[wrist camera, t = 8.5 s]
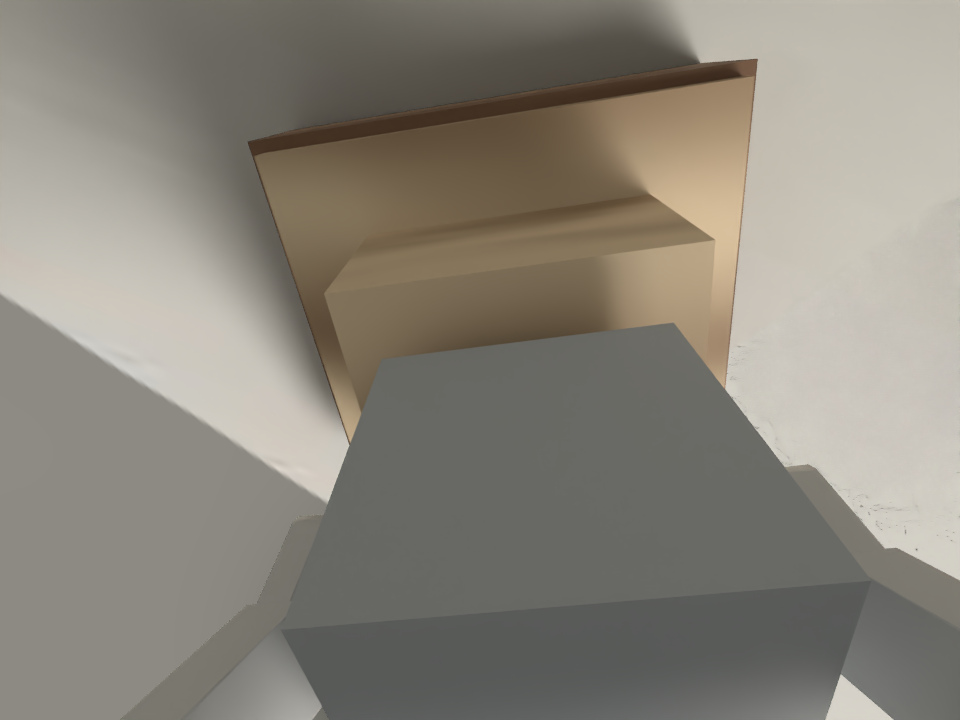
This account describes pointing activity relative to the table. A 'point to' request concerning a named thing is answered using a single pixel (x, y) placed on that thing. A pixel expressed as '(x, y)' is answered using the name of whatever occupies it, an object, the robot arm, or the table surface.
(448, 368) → the grey cube
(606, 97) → the plinth
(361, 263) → the oak block
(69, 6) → the table surface
